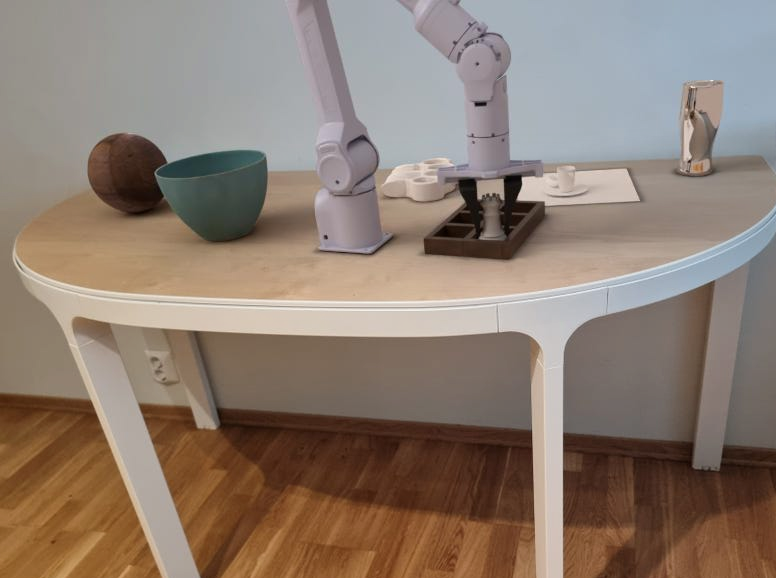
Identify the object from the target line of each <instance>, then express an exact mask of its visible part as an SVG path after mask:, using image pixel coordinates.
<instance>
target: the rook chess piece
mask: <svg viewBox="0 0 776 578" xmlns="http://www.w3.org/2000/svg"><path fill="white" fill-rule="evenodd" d="M481 199H482V200H481V201H480V205H481V206H482V207H483V212H482V215H483V219H484V221H483V230H482V232H481V236H480V237H479V239H484V240H501V241H504V240H505V239H506V238H507V236H506V235H505V234H504V231H503V229H502V225H501V220H500V214H501V210H500V205H501V204H502V202H503V201H502V200H503V199H502V198H501V195H500V193H496V192H492V193H491V195H490V192H487V193H485V194H482V195H481Z"/></svg>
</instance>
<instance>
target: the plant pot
mask: <svg viewBox="0 0 776 578" xmlns="http://www.w3.org/2000/svg"><path fill="white" fill-rule="evenodd" d="M167 163H168V164H165V165H163V166H161V167H160V168H158V169H157V170H156V171H155V177H156V180H157V182H158V185H159V187H160V189H161V191H162V193H163V195H164V197H163V198H164V199H165V200H166V202H167V203H168V206H170V208H171V209H172V210H173V212H174V213H175V214H176V216H177V217H178V218H179V219H180V220H181V221H182V222H183V223H184V224H185V225H186V226H187V227H188V228H189V229H190V230H192V231H193V232H194V233H195V234H196V235H198V236H200V238H202V239H203V240H206V241H208V242H225V241H231V240H235V239H238V238H241V237H244V236H246V235H248V234H249V233H250V232H252V230H253V229H254V227H255V226H256V224H257V222H258V220H259V218H260V215H261V214H262V210H263V208H264V204H265V201H266V196H267V191H268V181H269V180H268V179H269V174H268V172H269V171H268V169H269V168H268V159H267V154H266V153H265V152H264V151H261V150H256V149H229V150H220V151H213V152H207V153H201V154H195V155H191V156H187V157H183V158H179V159H176V160H174V161H170V162H167Z"/></svg>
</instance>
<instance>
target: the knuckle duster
mask: <svg viewBox="0 0 776 578" xmlns="http://www.w3.org/2000/svg"><path fill="white" fill-rule="evenodd" d="M451 166H456V164H455V163H453V160H452V159H451V158H448V157H435V158H428V159H425V160H422V161H421V162H416V163H405V164H401V165H398V166H396V167H394V168H393V169H392V170H391V173H390V174H389V175H388V176H387V177H386V180H385V181H384V183H382V185H380V191H381V193H382V194H383V195H384V196H387V197H390V198H397V199H398V198H399V199H400V198H410V199H412V200H413V201H415V202H420V203H425V202H427V203H429V202H435V201H439V200H442V199H444V198H445V195H446V194H449V193H451V192H453V191H454V190H455V189H456V185H457V184H459V182H456V183H446V184H445V185H438V180H437V169H438V168H444V167H451Z"/></svg>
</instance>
